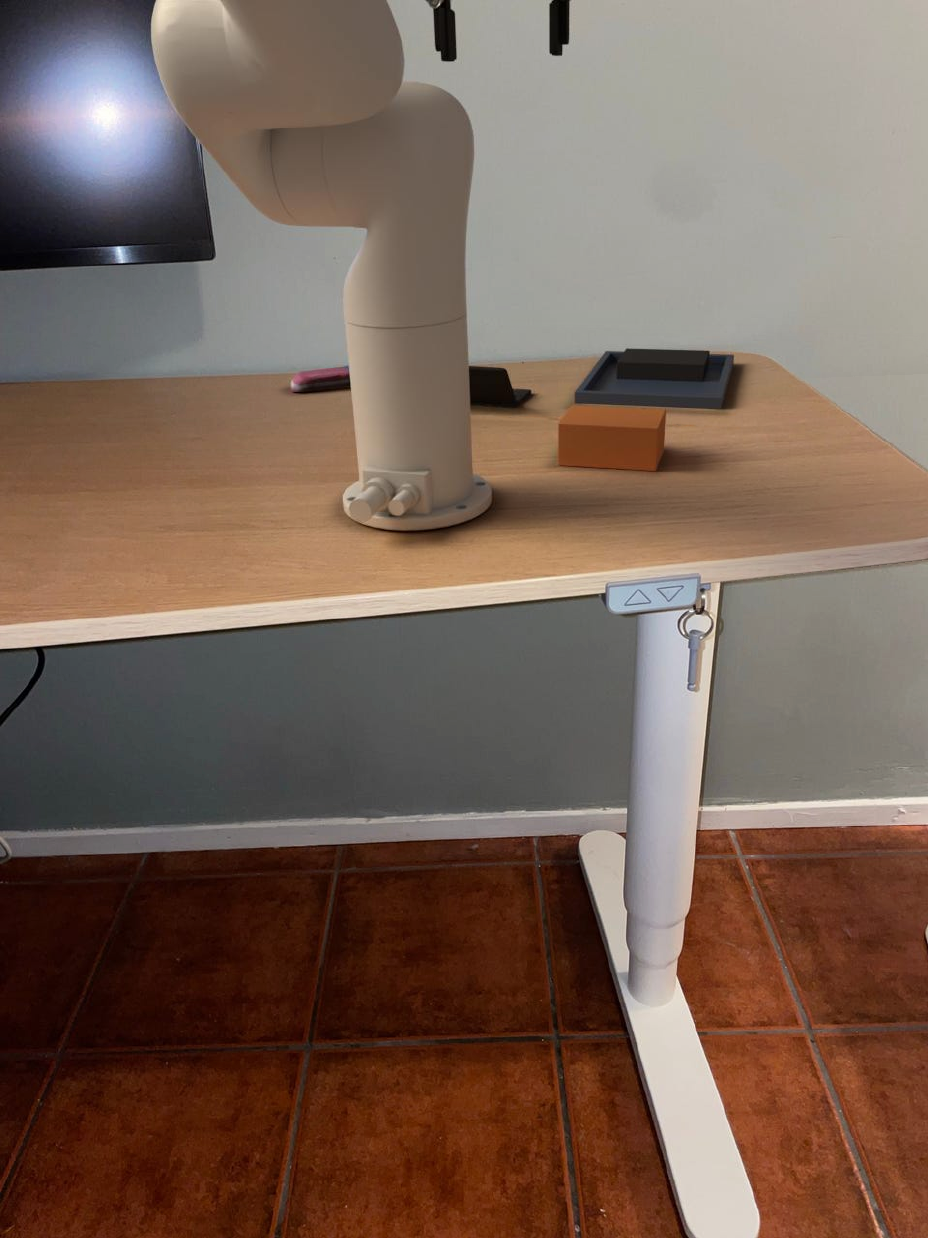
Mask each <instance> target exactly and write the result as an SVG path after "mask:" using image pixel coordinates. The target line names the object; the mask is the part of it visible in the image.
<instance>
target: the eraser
mask: <svg viewBox="0 0 928 1238" xmlns="http://www.w3.org/2000/svg"><path fill="white" fill-rule="evenodd" d="M289 385H290V390H291V392H293V393H294V392H297V393H301V392H313V391H314V392H315V391H322V390H323V391H324V390H331V389H341V388H348V387H351V383H350V372H349V365H345V366H336V367H328V368H321V369H319V368H318V369H311V370H305V371H299V372H297V373H296V374H295V375H294V377H292V379H291V381H290V384H289Z"/></svg>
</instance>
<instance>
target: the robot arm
mask: <svg viewBox="0 0 928 1238" xmlns="http://www.w3.org/2000/svg"><path fill="white" fill-rule="evenodd" d="M452 1H453V0H425V2H426V3H427V4H428V6H429V7H430V8H431V9H432V11H433V13H432V14H433V33H434V34H433V35H434V37H433V38H434V48H435V51H436V52H438V53H440V60H441V62H447V63H451V62H453V63H454V62H455V61H456V60H457V57H458V56H457V55H458V52H457V28H456V27H457V26H456V12H455V10H454V9H452ZM570 2H572V0H551V2H549V5H548V6H549V7H548V8H549V9H548V11H549V13H548V15H549V16H548V17H549V18H548V20H549V21H548V24H549V25H548V27H549V28H548V35H549V36H548V37H549V38H548V41H549V43H548V45H549V46H548V48H549V50H548V52H549V55H551V56H554V57H562V56H563V51H564V49H563V47H564V46H567V45H569V44H570ZM150 21H151V22H150V38H151V48H152V54H153V59H154V63H155V66H156V70H157V73H158V76H159V79H160V82H161V85H162V88H163V90H164V92H165V94H166V96H167V98H168V100H169V102H170V104H171V106H172V108H173V110H175V113H176V114H177V115H178V117H179V118H180V120H181V121H182V122H183V123H184V125H185V127H187V129H188V130H189V131H190V133H191V134H192V135H193V136H194V138H195V139H196V140H197V142H199V144H200V145H201V146H202V147H203V149H204V150H205V151H206V152H207V153H208V155H209V156H210V157H211V158H212V159H213V161H215V163H216V164H217V165H218V166H219V167H220V169H221V170H222V172H224V173H225V175H226V176H227V177H228V179H229V180H230V181H231V182H232V183H233V184H234V186H236V188H237V189H238V191H240V193H241V194H242V195H243V196H244V197H245V198H246V200H247V201H248V202H249V203H250V204H251V205H252V206H253V207H254V208H255V209H256V210H257V211H259V213H261V214H262V215H264V216H265V217H266V218H268V219H270V220H271V221H273V222H276V223H278V224H280V225H281V224H282V225H285V226H293V227H307V228H309V227H310V228H311V227H318V228H319V227H321V228H323V227H324V228H325V227H326V228H327V227H331V228H333V227H334V228H335V227H336V228H339V227H340V228H357V229H366V235H365V237H364V241H363V242H362V244H361V246H360V248H359V249H358V251H357V254H356V255H355V257H354V259H353V260H352V263H351V265H350V267H349V268H348V270H347V274H346V276H345V280H344V284H343V289H342V290H343V291H342V306H343V307H342V308H343V309H342V310H343V319H344V328H345V329H344V330H345V337H346V349H347V358H348V359H347V360H348V366H349V372H350V383H351V386H350V391H351V403H352V404H351V405H352V413H353V415H352V416H353V426H354V434H355V447H356V455H357V456H356V457H357V467H358V468H357V469H358V480H357V481H355V482H354V483H352V484H351V485H350V486H348V487H347V488H346V489H345V491H344V493H343V494H342V505H343V510H344V513H345V514H346V515H347V516H348V517H349V518H350V519H352V520H353V521H355V522H357V523H359V524H362V525H363V526H368V527H370V528H375V529H380V530H389V531H400V532H401V531H404V532H405V531H408V532H409V531H425V530H427V531H428V530H436V529H440V528H441V529H442V528H448V527H451V526H456V525H459V524H462V523H465V522H468V521H471V520H473V519H474V518H477V517H479V516H480V515H481V514H483V513H484V512H485V511H487V510H488V509H489V507H490V506H491V505H492V501H493V491H492V486H491V484H490V483H489V481H487V480H486V479H484V478H483V477H482V476H481V475H478V474H475V473H473V471H474V470H473V446H472V443H473V442H472V421H471V420H472V419H471V416H472V415H471V405H470V388H469V366H470V365H469V364H470V363H469V362H470V361H469V339H468V337H469V335H468V311H467V310H468V309H467V308H468V307H467V279H466V278H467V277H466V275H467V274H466V270H467V269H466V258H467V257H466V256H467V255H466V251H467V249H466V248H467V245H466V244H467V229H468V216H469V206H470V198H471V190H472V182H473V176H474V175H473V173H474V165H475V164H474V163H475V137H474V130H473V126H472V122H471V119H470V116H469V114H468V112H467V110H466V109H465V107H464V106H463V104H462V103H461V102H460V100H458V99H457V98H456V96H454V95H453V94H452V93H450V92H449V91H447V90H445V89H444V88H441V87H439V86H436V85H433V84H429V83H424V82H418V81H406V80H404V81H403V79H404V73H405V63H406V62H405V55H404V47H403V41H402V37H401V32H400V29H399V28H398V27H399V26H398V25H397V22H396V20H395V17H394V15H393V12H392V9H391V7H390V5H389V3H388V0H155V2H154V5H153V10H152V15H151V20H150Z"/></svg>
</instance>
